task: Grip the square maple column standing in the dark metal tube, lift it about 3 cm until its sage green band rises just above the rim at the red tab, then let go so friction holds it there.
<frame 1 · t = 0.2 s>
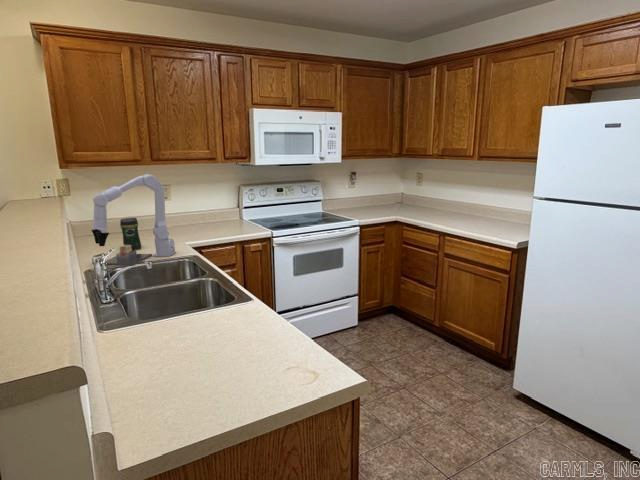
hand: (100, 244, 208), 10 cm above the worktop, tool pointing down, fingers open, 7 cm apart
column: (126, 251, 215), point 5 cm above the worktop, slide at 0.0 cm
jack base: (127, 260, 216), on the worktop
coffee jar: (132, 249, 240), on the worktop
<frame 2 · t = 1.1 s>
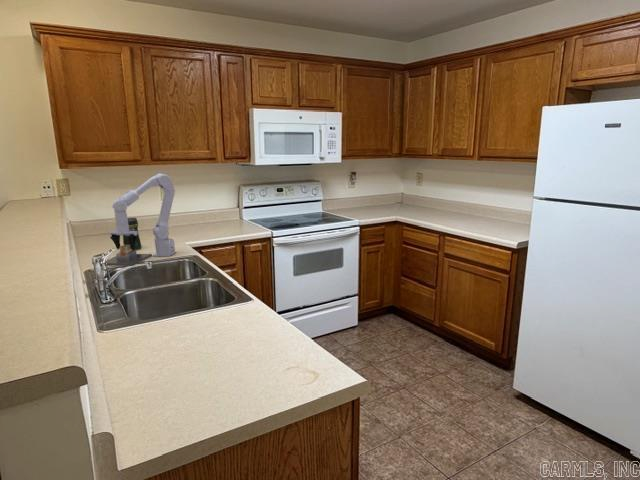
hand: (125, 248, 214), 6 cm above the worktop, tool pointing down, fingers open, 7 cm apart
nothing on the worktop moved.
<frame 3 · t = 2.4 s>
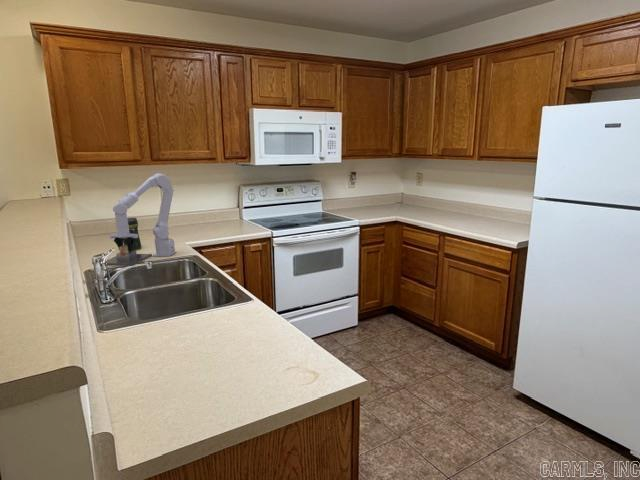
hand: (126, 251, 215), 5 cm above the worktop, tool pointing down, fingers closed on column, 4 cm apart
column: (126, 251, 215), point 5 cm above the worktop, slide at 0.0 cm, touching gripper
everything else where it was.
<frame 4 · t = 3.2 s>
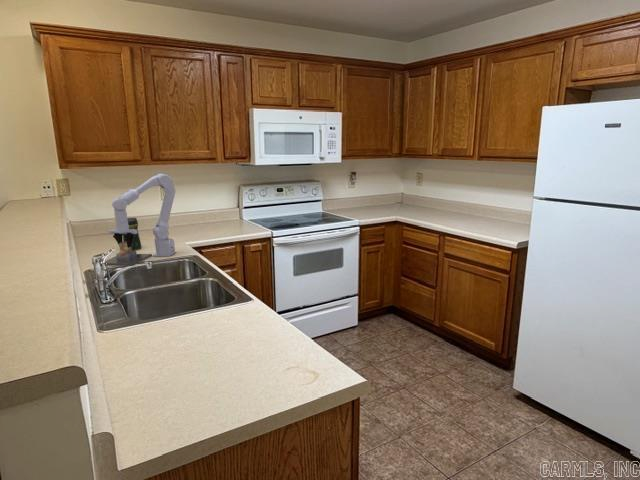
hand: (125, 247, 214), 7 cm above the worktop, tool pointing down, fingers closed on column, 4 cm apart
column: (125, 248, 214), point 7 cm above the worktop, slide at 1.8 cm, touching gripper
everything else where it was.
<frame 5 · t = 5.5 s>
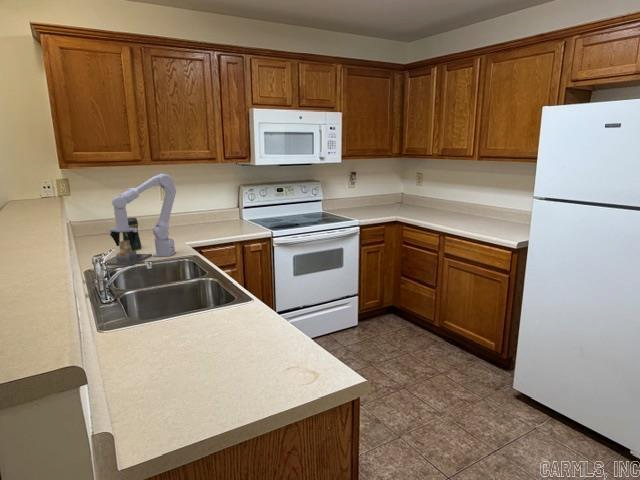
hand: (125, 245, 214), 8 cm above the worktop, tool pointing down, fingers open, 7 cm apart
column: (125, 247, 214), point 7 cm above the worktop, slide at 2.4 cm
everything else where it was.
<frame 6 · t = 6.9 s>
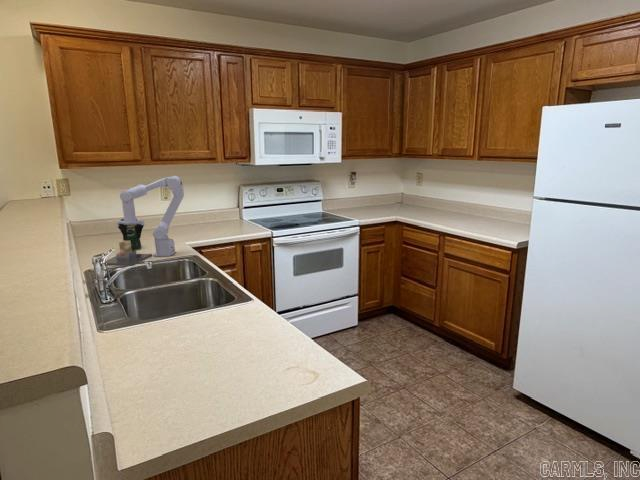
hand: (132, 237, 221), 10 cm above the worktop, tool pointing down, fingers open, 7 cm apart
nothing on the worktop moved.
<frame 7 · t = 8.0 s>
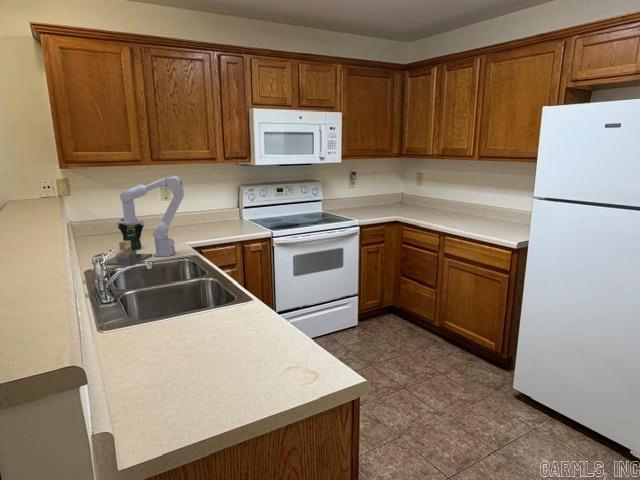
hand: (132, 237, 221), 10 cm above the worktop, tool pointing down, fingers open, 7 cm apart
nothing on the worktop moved.
at the end: column slide at 2.4 cm; the gripper is holding nothing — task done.
